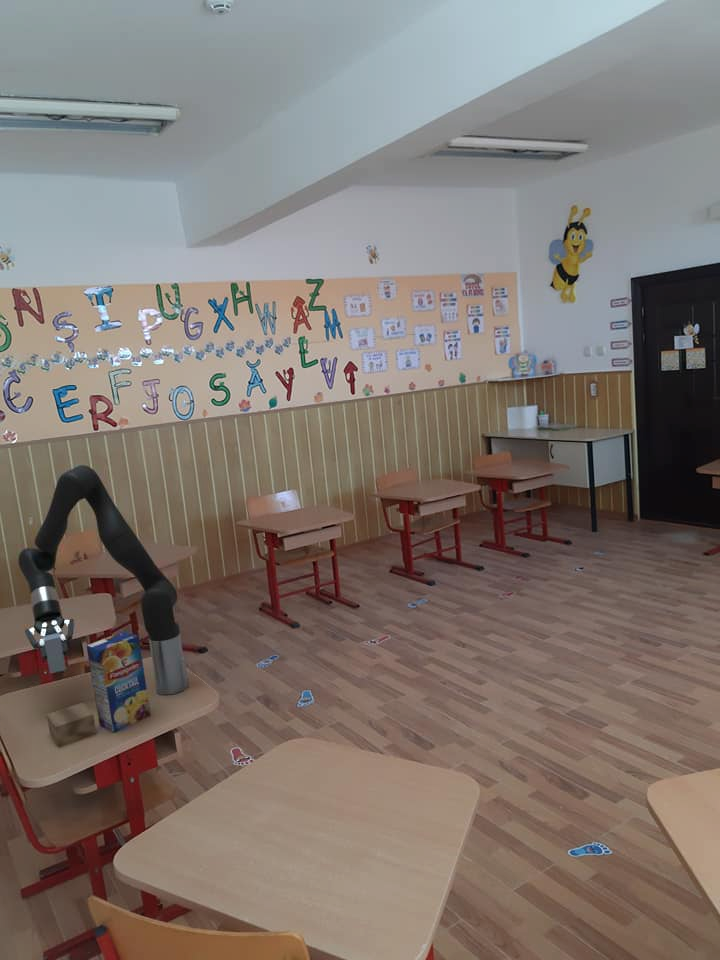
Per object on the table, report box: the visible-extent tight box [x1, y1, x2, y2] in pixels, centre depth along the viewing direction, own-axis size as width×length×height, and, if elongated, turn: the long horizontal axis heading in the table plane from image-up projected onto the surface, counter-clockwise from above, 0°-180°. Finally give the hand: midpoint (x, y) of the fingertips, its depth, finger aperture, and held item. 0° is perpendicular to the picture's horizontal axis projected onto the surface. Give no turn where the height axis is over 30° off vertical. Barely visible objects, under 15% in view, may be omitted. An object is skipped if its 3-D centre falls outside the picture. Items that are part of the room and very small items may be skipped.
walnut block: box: [46, 702, 97, 748], centre depth 206 cm, size 10×10×6 cm
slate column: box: [43, 633, 67, 675], centre depth 216 cm, size 4×4×10 cm
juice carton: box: [86, 631, 151, 734], centre depth 210 cm, size 12×8×24 cm, turn 139°
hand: (55, 656), depth 214 cm, fingers closed on slate column, 4 cm apart
